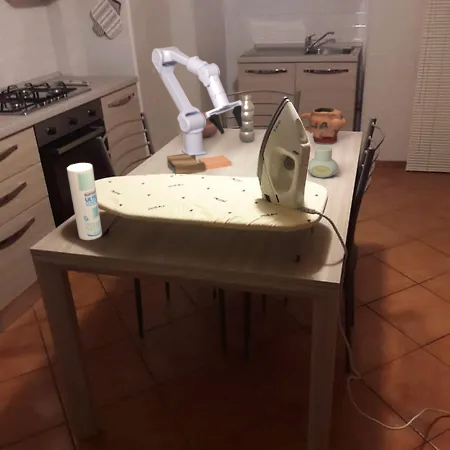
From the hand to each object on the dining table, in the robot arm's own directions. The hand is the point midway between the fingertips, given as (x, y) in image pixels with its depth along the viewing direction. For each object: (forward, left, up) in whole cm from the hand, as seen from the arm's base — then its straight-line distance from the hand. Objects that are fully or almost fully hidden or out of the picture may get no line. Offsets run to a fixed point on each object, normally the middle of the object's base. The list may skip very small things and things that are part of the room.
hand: (232, 130), depth 187 cm
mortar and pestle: (-41, +4, -13) cm, 44 cm away
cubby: (-2, -18, -13) cm, 22 cm away
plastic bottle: (-25, +17, -13) cm, 34 cm away
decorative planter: (-10, +45, -13) cm, 49 cm away
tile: (-2, -7, -14) cm, 15 cm away
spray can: (+39, -60, -13) cm, 72 cm away
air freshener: (+26, +23, -13) cm, 37 cm away
